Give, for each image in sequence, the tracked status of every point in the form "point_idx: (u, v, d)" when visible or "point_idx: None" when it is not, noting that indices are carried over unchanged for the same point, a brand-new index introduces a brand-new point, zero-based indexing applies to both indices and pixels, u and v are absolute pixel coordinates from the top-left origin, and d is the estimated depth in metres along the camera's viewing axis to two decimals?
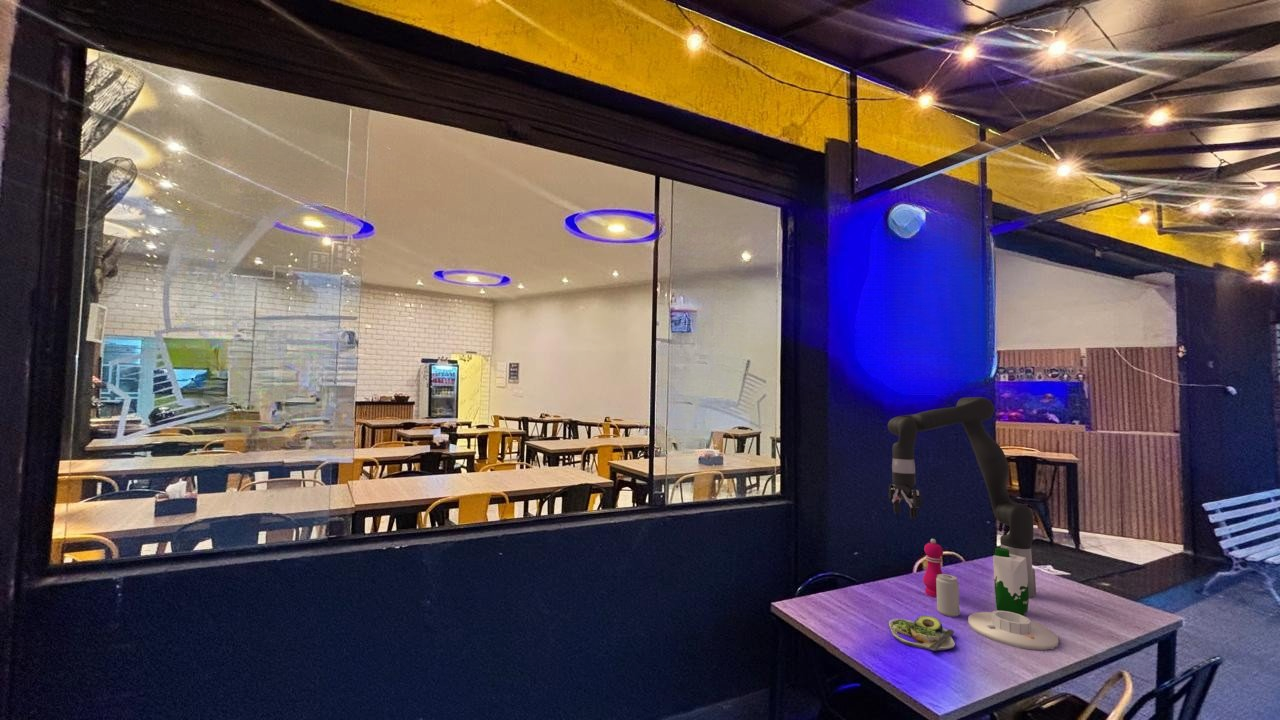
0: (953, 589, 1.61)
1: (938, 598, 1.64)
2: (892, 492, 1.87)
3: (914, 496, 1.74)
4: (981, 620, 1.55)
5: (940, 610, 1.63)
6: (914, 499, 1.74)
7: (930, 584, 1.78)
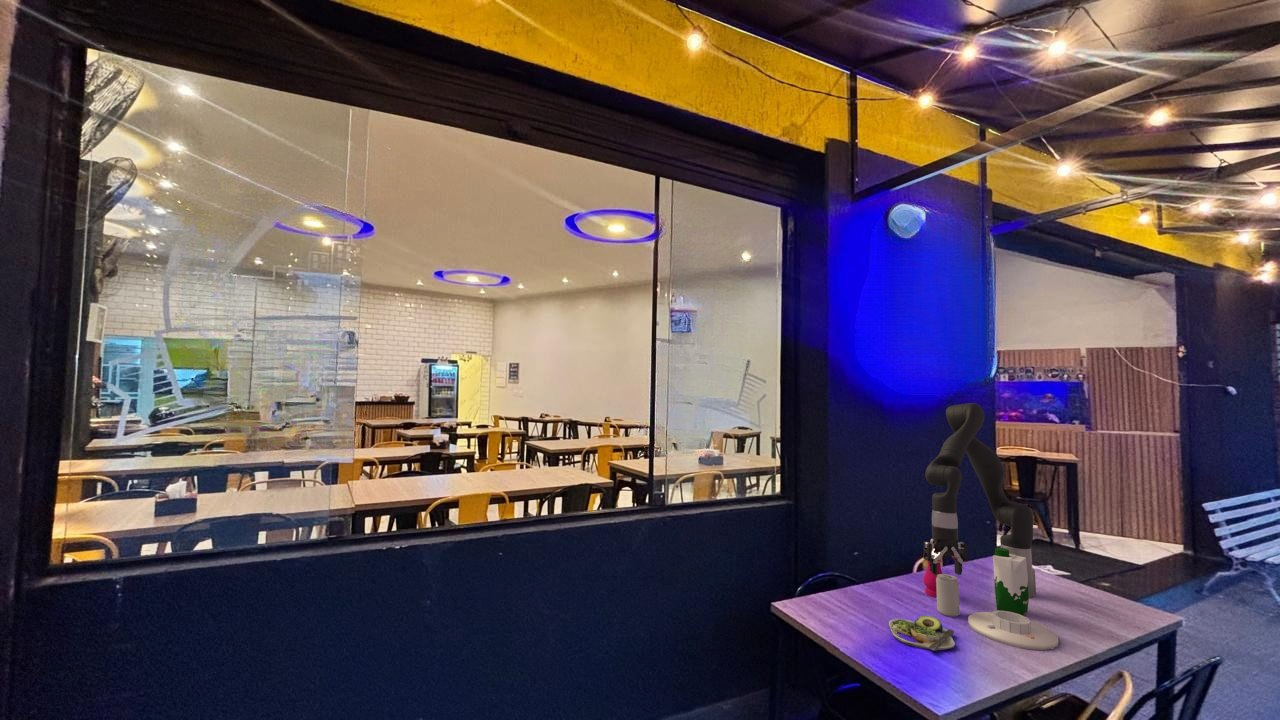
0: (953, 589, 1.61)
1: (938, 598, 1.64)
2: None
3: (966, 550, 1.65)
4: (981, 620, 1.55)
5: (940, 610, 1.63)
6: (966, 553, 1.65)
7: (930, 584, 1.78)
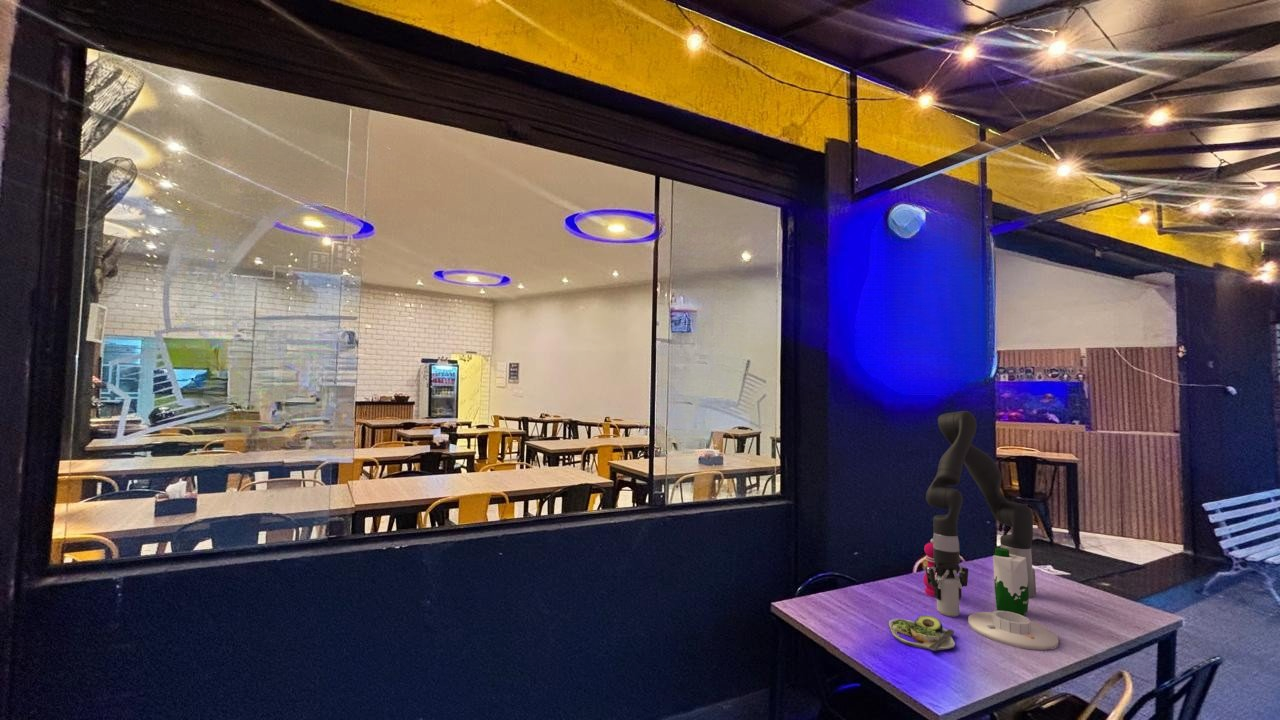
0: (953, 589, 1.61)
1: None
2: None
3: (966, 575, 1.64)
4: (981, 620, 1.55)
5: (940, 610, 1.63)
6: (966, 578, 1.64)
7: None
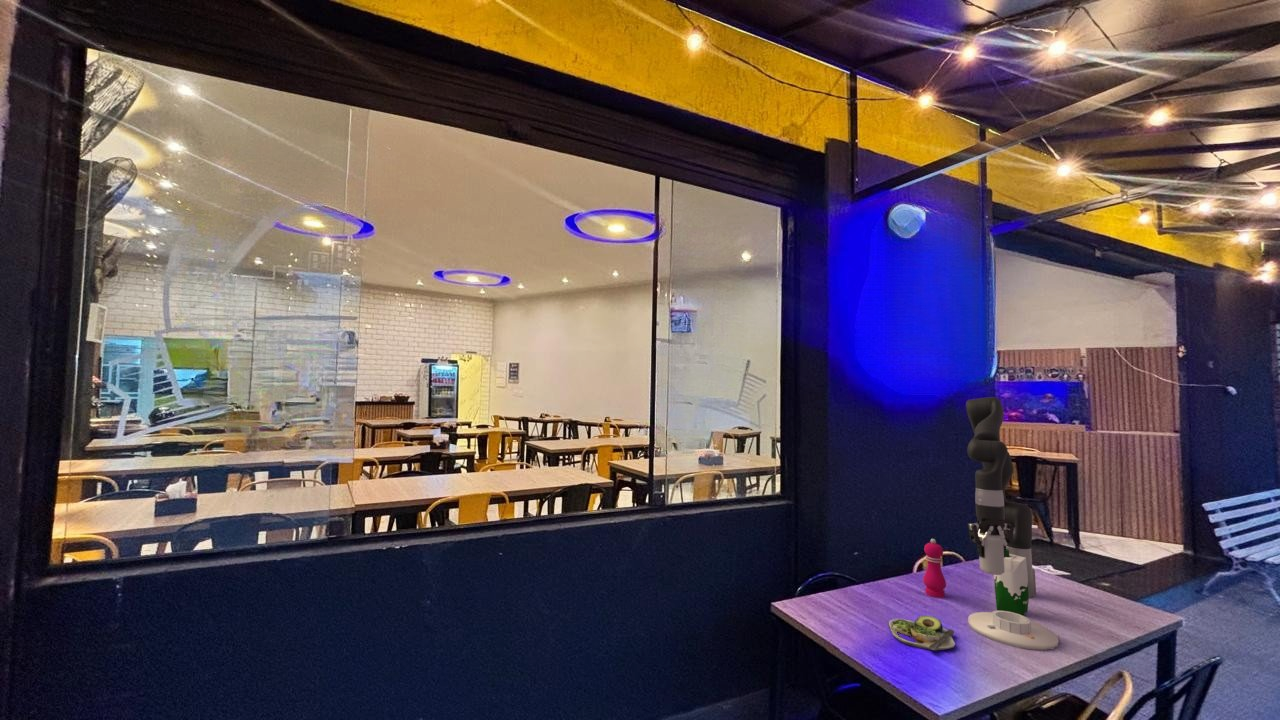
0: (997, 546, 1.53)
1: None
2: None
3: (1012, 531, 1.56)
4: (981, 620, 1.55)
5: (984, 568, 1.54)
6: (1011, 535, 1.55)
7: (930, 584, 1.78)
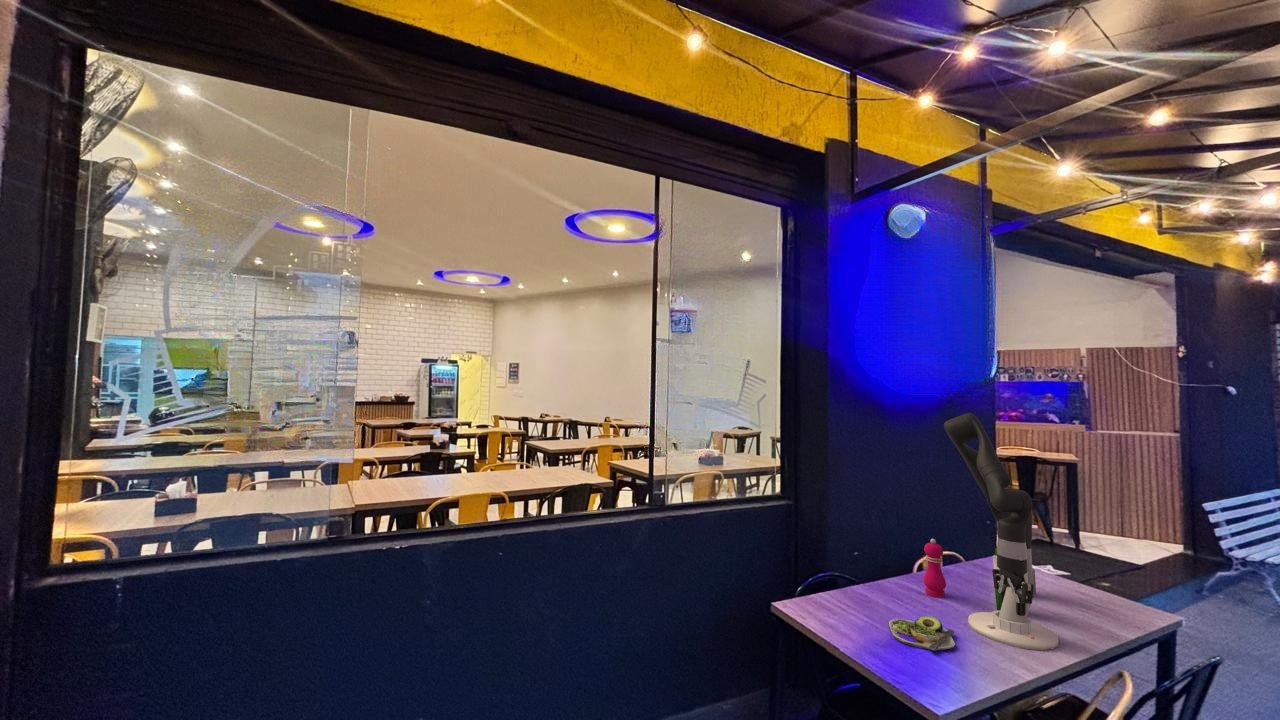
0: None
1: None
2: None
3: None
4: (981, 620, 1.55)
5: None
6: None
7: (930, 584, 1.78)
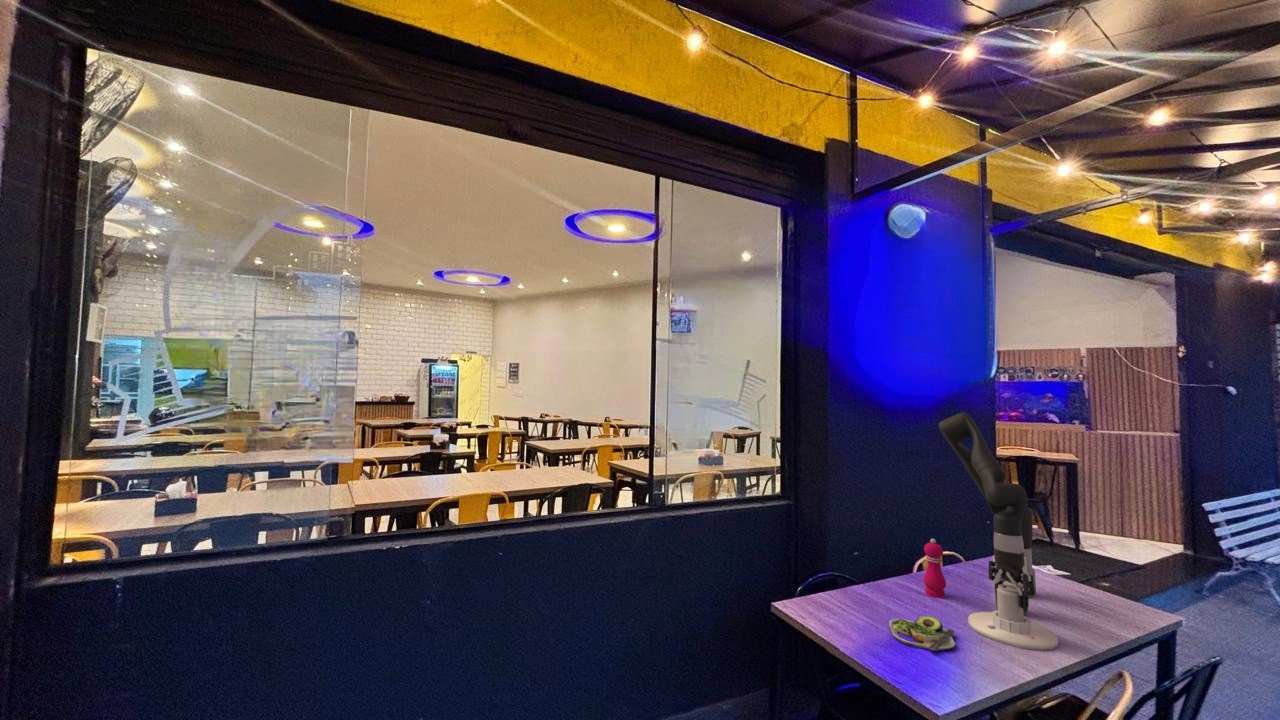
0: None
1: (1017, 615, 1.48)
2: None
3: None
4: (981, 620, 1.55)
5: None
6: None
7: (930, 584, 1.78)
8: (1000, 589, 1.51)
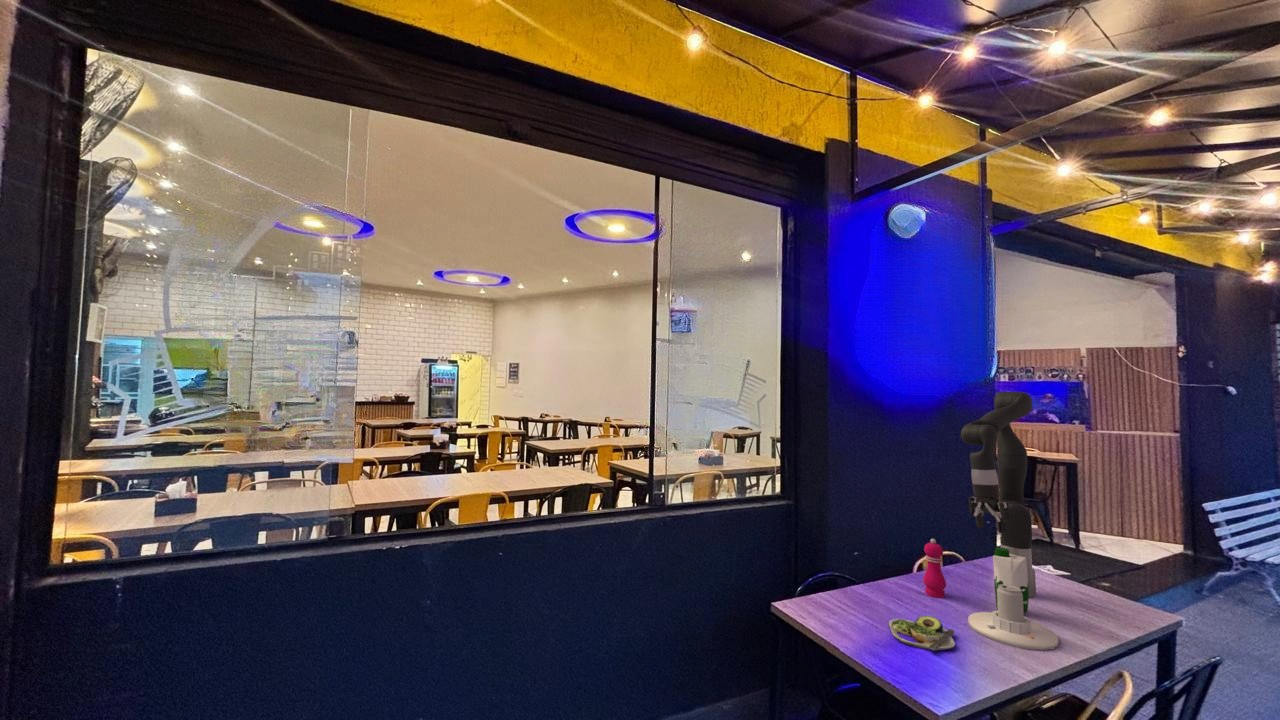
0: None
1: (1017, 615, 1.48)
2: None
3: None
4: (981, 620, 1.55)
5: None
6: None
7: (930, 584, 1.78)
8: (1000, 589, 1.51)
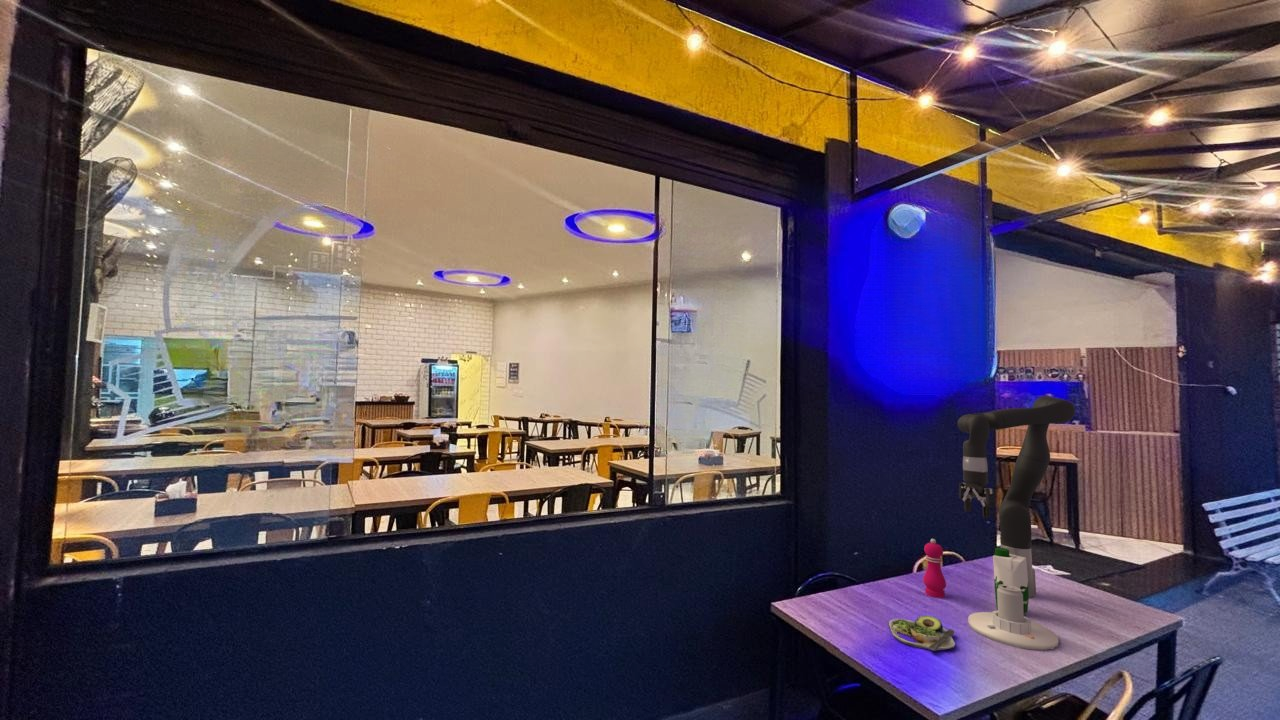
0: None
1: (1017, 615, 1.48)
2: None
3: None
4: (981, 620, 1.55)
5: None
6: None
7: (930, 584, 1.78)
8: (1000, 589, 1.51)
